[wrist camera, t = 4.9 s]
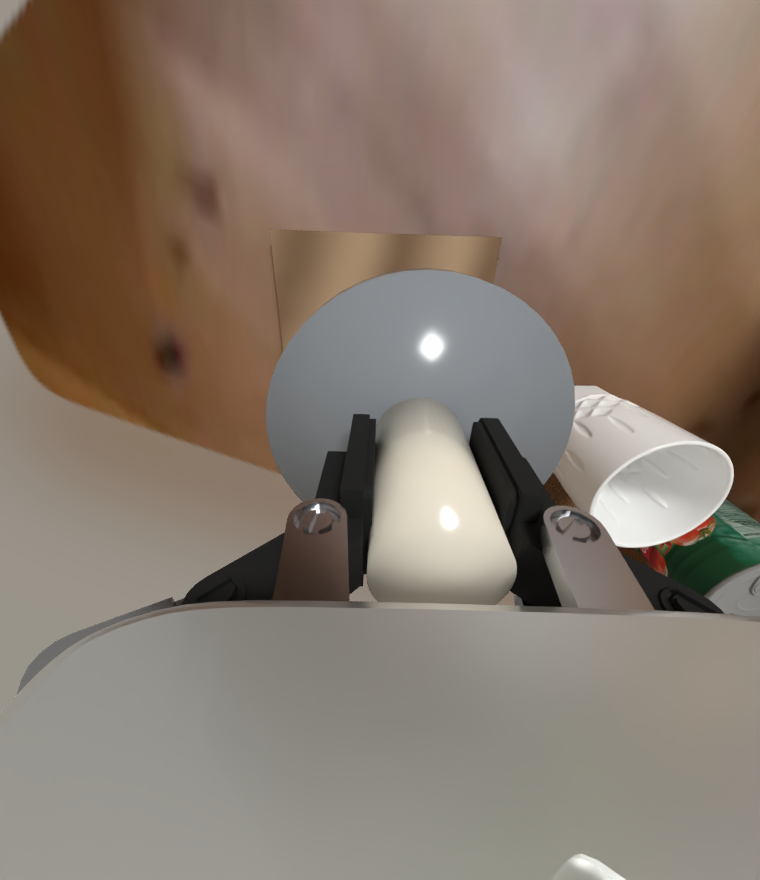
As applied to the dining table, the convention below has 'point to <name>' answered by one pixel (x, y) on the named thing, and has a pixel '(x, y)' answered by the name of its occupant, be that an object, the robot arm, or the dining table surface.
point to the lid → (423, 420)
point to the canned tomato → (716, 560)
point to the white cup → (640, 471)
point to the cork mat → (362, 264)
